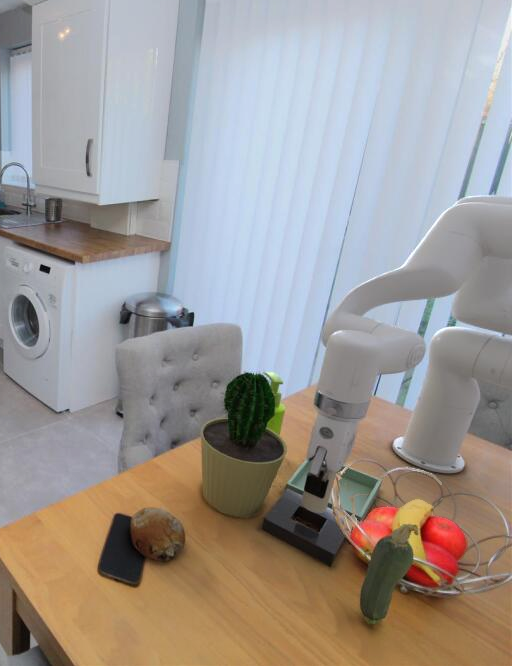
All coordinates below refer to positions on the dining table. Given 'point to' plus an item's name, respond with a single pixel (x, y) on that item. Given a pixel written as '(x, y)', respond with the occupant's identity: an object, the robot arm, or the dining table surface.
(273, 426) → the soap dispenser
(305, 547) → the block
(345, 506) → the green tray
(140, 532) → the bread roll
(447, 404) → the robot arm
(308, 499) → the plug
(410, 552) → the vegetable
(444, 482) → the dining table surface
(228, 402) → the potted cactus
